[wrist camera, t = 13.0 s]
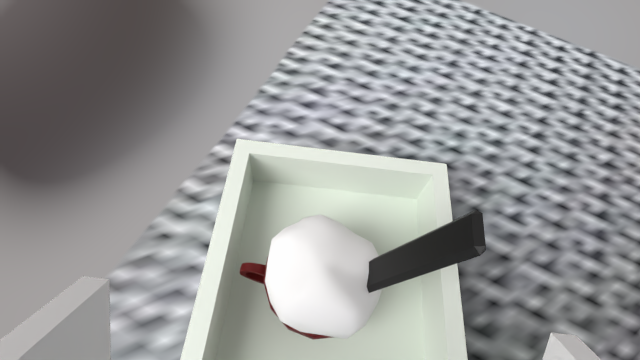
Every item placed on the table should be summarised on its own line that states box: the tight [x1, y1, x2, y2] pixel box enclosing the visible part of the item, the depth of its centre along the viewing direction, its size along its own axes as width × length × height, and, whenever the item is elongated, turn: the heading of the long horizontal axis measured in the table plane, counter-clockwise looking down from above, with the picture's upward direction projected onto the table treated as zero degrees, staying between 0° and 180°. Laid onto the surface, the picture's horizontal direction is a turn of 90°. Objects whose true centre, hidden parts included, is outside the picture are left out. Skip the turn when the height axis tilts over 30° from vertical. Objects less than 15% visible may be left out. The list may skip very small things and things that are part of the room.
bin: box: [180, 139, 468, 360], centre depth 22 cm, size 14×17×4 cm
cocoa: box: [240, 210, 486, 340], centre depth 18 cm, size 10×6×12 cm, turn 60°
